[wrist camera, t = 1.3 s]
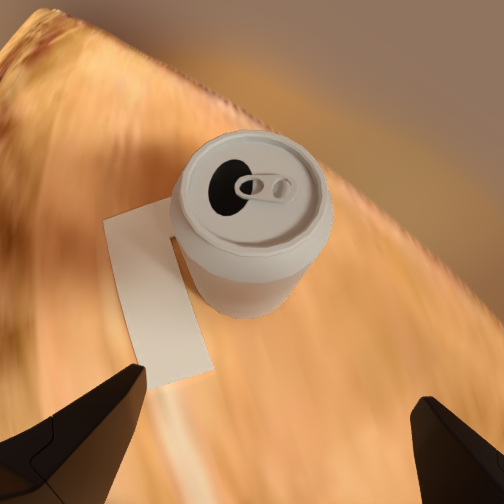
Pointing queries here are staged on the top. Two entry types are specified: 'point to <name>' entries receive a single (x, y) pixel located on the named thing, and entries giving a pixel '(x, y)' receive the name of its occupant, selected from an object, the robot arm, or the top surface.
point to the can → (250, 220)
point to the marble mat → (155, 295)
